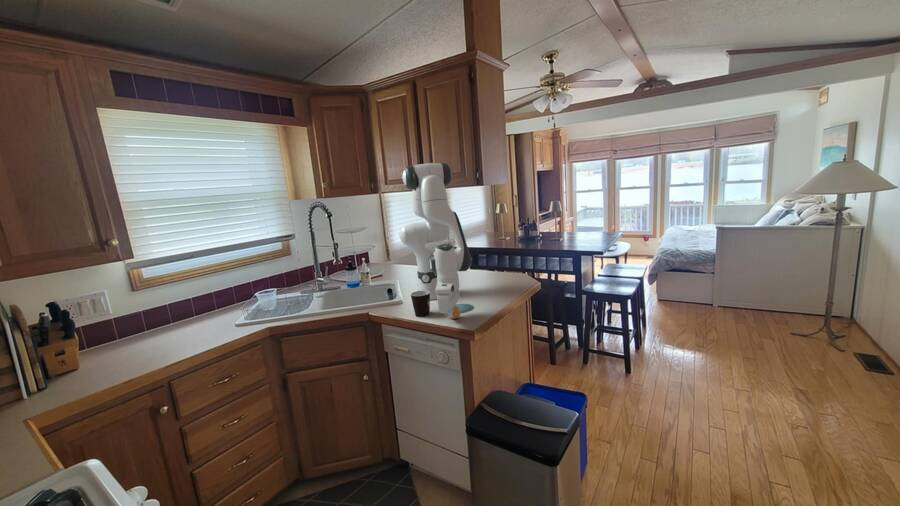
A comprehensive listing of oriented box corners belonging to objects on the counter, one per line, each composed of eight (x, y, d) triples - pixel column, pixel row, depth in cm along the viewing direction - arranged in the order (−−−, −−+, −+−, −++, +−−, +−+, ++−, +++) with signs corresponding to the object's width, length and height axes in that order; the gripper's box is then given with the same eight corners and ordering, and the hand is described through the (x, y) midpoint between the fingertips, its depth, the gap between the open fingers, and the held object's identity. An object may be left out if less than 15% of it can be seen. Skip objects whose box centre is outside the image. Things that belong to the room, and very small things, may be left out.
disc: (451, 304, 175) (451, 303, 175) (475, 304, 172) (475, 303, 172) (444, 312, 163) (444, 312, 163) (470, 312, 160) (470, 312, 160)
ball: (447, 321, 155) (449, 311, 159) (460, 321, 154) (461, 312, 158) (445, 312, 151) (447, 302, 156) (458, 312, 150) (460, 303, 155)
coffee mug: (423, 319, 158) (421, 296, 156) (408, 316, 163) (406, 294, 161) (440, 310, 167) (438, 289, 165) (425, 308, 172) (423, 288, 170)
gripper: (447, 278, 160) (450, 309, 162) (433, 290, 140) (437, 325, 142) (461, 278, 158) (464, 309, 160) (449, 290, 139) (452, 325, 141)
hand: (451, 316), depth 151 cm, fingers closed
